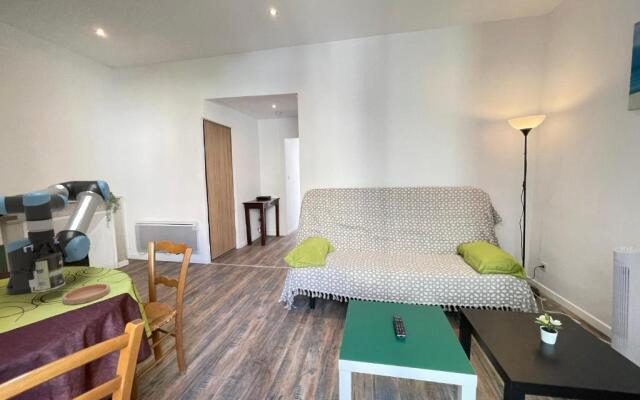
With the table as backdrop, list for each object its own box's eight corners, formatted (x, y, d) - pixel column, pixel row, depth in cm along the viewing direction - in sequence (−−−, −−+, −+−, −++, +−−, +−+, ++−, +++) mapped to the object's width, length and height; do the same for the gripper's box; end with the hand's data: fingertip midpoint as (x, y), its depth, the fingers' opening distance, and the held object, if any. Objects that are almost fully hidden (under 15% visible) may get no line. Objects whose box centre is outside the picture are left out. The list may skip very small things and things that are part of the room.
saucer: (70, 292, 112) (70, 288, 112) (112, 285, 119) (112, 281, 119) (57, 308, 100) (56, 303, 99) (105, 299, 107) (104, 294, 106)
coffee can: (64, 279, 116) (60, 249, 114) (67, 286, 109) (63, 254, 107) (29, 287, 108) (25, 255, 106) (31, 295, 101) (26, 261, 100)
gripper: (58, 223, 117) (64, 270, 119) (-2, 237, 94) (7, 293, 97) (75, 223, 117) (80, 270, 120) (19, 236, 94) (27, 293, 97)
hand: (47, 280), depth 108 cm, fingers closed on coffee can, 10 cm apart
